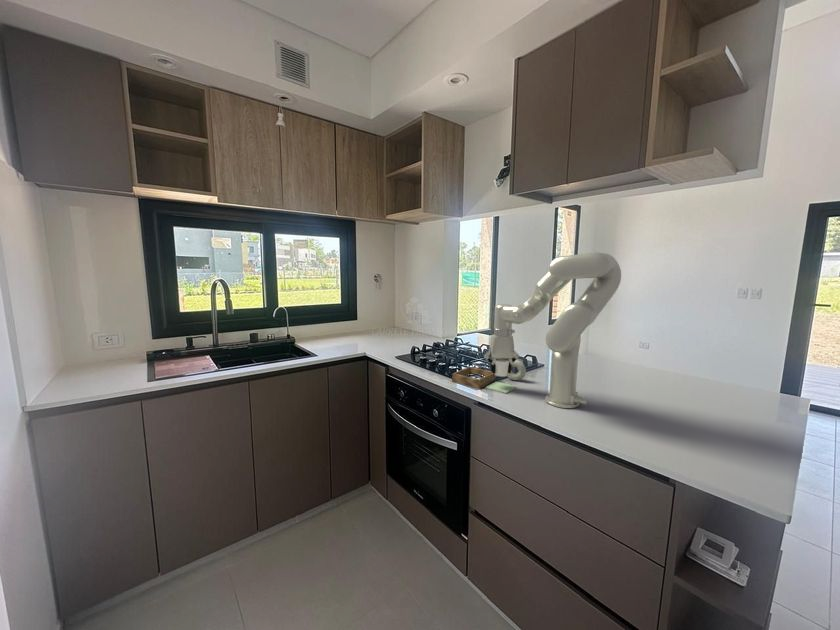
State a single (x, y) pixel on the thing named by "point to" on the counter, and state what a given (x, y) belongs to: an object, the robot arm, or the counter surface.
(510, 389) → the green mat
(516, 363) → the donut
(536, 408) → the counter surface
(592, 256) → the robot arm
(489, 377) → the walnut box
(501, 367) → the white cylinder
